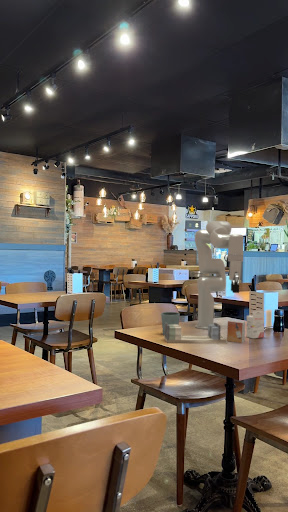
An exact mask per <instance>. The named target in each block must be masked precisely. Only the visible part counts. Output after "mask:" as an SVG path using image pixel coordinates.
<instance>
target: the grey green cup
mask: <svg viewBox="0 0 288 512" xmlns="http://www.w3.org/2000/svg"><path fill="white" fill-rule="evenodd" d="M180 314H181V313H180V312H176V311H175V312H174V311H165V312H161V314H160V316H161V317H160V318H161V328H162V329H161V330H162V336H165V323H168V325H179V326H180V317H181V315H180Z"/></svg>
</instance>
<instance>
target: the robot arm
mask: <svg viewBox="0 0 288 512" xmlns="http://www.w3.org/2000/svg"><path fill="white" fill-rule="evenodd" d="M231 232H232V225H231V223H230V221H229V222H228V221H226V220H211V221H209V222H208V223H206V226H205V228H203V229H199V230H197V231H196V232H195V235H194V243H195V247H196V250H197V259H198V260H197V261H198V270H199V272H200V273H201V274H203V275H202V276H199V277H198V278H197V279H196V285H197V295H198V296H197V297H198V298H197V323H196V324H195V326H194V327H195V328H197V329H200V330H208V325H214V313H215V309H214V308H215V300H214V299H215V298H214V296H213V295H212V294H211V292H213V293H214V292H223V291H225V290H226V286H227V281H226V279H227V277H226V266H225V262H224V260H223V259H221V258H213V251H212V248H211V247H210V246H209V245H208V244H211V245H212V246H213V247H214V248H216V249H222V250H223V249H224V250H225V249H226V250H227V249H228V250H227V253H228V254H227V261H228V262H229V268H228V269H229V270H228V271H229V273H228V275H229V276H228V280H229V281H231V283H230V292H232V294H234V293H235V294H237V293H238V294H239V293H240V280H241V270H242V269H241V267H242V264H241V263H242V262H244V236H243V235H242V234H238V233H236V234H235V233H234V234H231ZM204 274H205V275H204ZM207 274H208V275H207Z"/></svg>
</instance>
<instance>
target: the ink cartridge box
mask: <svg viewBox="0 0 288 512" xmlns="http://www.w3.org/2000/svg"><path fill="white" fill-rule="evenodd" d="M264 337H265V311H264V310H254V311H252V315H246V338H249V339H259V338H260V339H261V338H264Z"/></svg>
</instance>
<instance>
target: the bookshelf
mask: <svg viewBox="0 0 288 512" xmlns="http://www.w3.org/2000/svg"><path fill="white" fill-rule="evenodd" d="M221 327H222V326H221V325H220V324H218V323H217V322H213V325H208V329H207V335H182V326H180V324H179V325H168V323H165V335H163V339H164V340H165V342H166V343H167V344H205V345H206V344H209V345H210V344H211V345H212V344H214V345H216V344H217V345H219V344H220V345H222V344H225V345H227V343H228V341H227V338H225V337H223V336H222V335H221V330H222V329H221Z"/></svg>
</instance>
